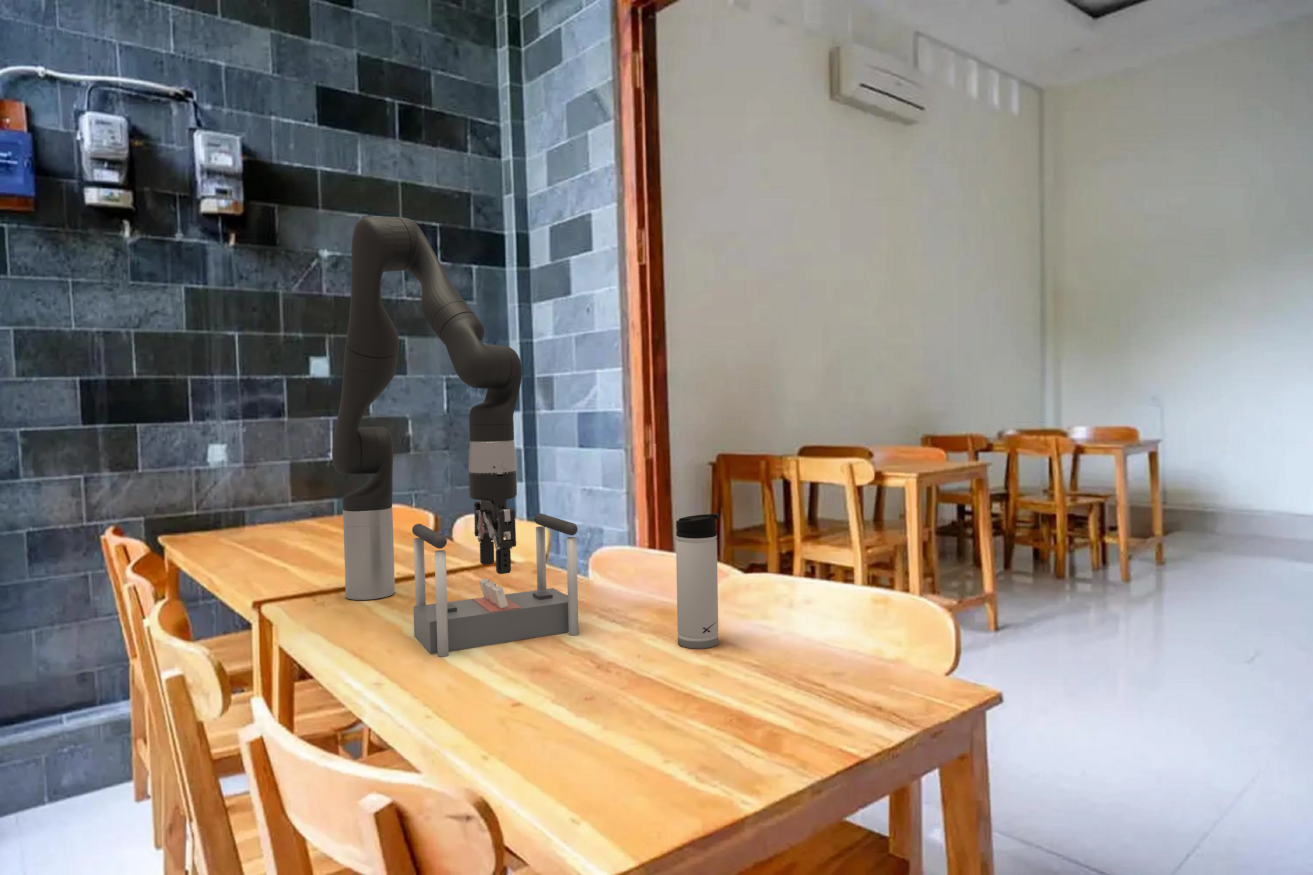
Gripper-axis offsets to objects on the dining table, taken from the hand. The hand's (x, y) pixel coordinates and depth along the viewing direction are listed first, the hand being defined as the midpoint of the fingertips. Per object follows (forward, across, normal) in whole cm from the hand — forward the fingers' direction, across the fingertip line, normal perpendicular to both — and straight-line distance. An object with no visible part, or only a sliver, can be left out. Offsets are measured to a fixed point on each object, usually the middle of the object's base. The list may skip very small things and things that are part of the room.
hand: (495, 568), depth 132 cm
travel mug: (+11, +22, +25) cm, 35 cm away
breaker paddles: (+6, 0, 0) cm, 6 cm away
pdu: (+11, 0, 0) cm, 11 cm away
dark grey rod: (-5, 0, +10) cm, 12 cm away
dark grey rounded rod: (-5, 0, -10) cm, 12 cm away
